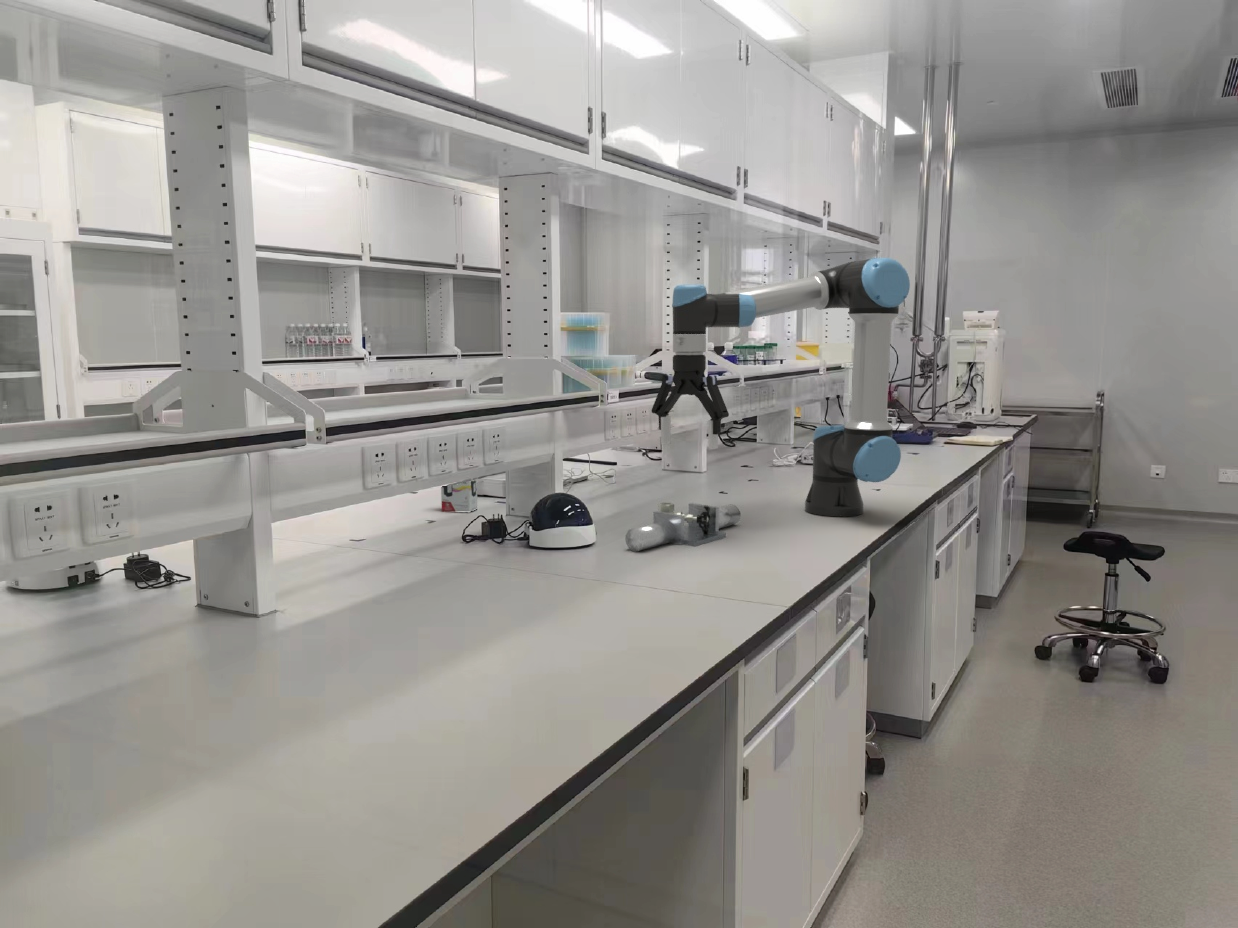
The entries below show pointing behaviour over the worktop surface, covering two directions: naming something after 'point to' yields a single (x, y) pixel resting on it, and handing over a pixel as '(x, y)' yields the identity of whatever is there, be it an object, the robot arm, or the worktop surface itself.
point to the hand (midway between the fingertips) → (688, 446)
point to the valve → (700, 519)
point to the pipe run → (682, 528)
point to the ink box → (459, 497)
